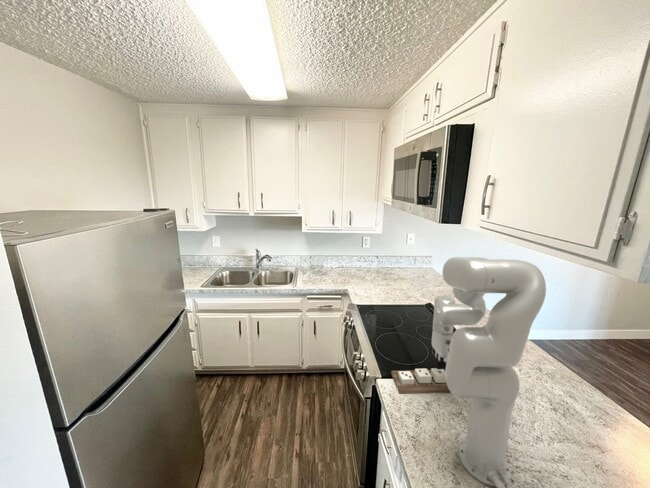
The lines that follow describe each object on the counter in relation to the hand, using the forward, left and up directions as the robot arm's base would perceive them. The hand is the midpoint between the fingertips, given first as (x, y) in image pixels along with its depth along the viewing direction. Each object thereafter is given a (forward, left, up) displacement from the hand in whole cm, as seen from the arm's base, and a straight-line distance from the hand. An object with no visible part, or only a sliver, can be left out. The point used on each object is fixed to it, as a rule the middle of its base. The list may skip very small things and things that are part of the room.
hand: (439, 367), depth 107 cm
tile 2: (0, +7, -5) cm, 8 cm away
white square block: (0, +14, -6) cm, 15 cm away
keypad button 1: (0, 0, -5) cm, 5 cm away
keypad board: (0, +7, -7) cm, 9 cm away
